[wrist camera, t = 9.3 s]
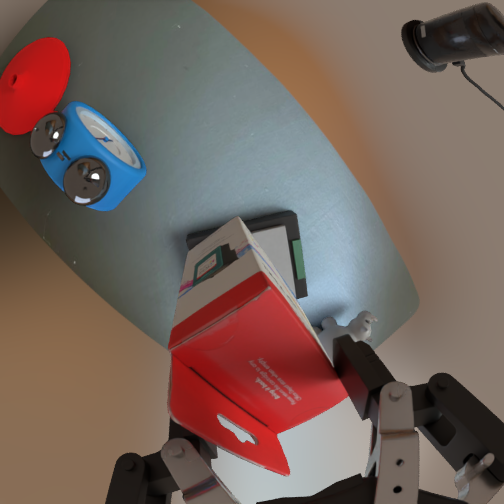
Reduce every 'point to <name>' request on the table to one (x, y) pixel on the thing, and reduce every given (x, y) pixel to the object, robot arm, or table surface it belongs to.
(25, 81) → the flat cone with hole
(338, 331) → the round bodied animal figurine
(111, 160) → the alarm clock
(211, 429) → the ink box
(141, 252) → the table surface
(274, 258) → the scale
